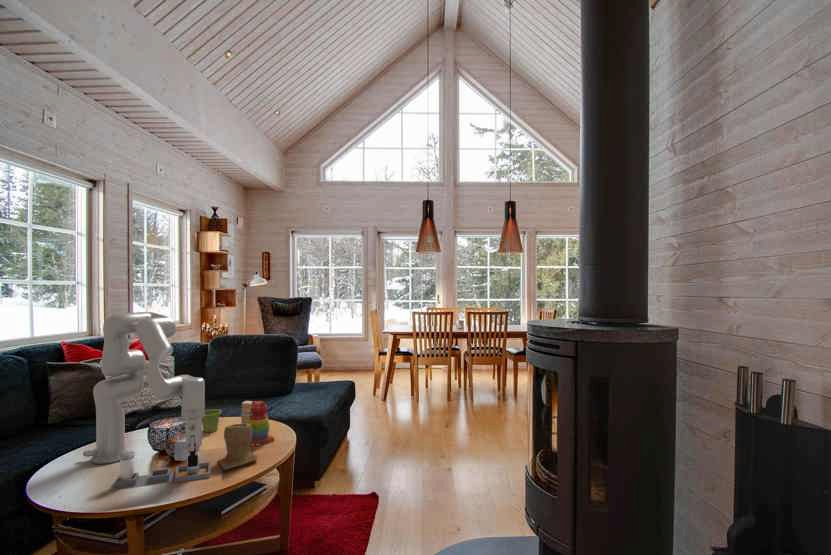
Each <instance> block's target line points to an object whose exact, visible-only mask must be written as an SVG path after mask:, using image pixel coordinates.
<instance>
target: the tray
mask: <svg viewBox="0 0 831 555" xmlns="http://www.w3.org/2000/svg"><path fill="white" fill-rule="evenodd" d="M211 463H212V462H211V461H206V462H199V469H202V468H208V471H207V472H203V473H202V472H201V473H196V474H195V473H194V474H188V475H182V476H179V472H181V471H187V464H183V465H177V466H176V468H175V469H176V470H175V472H174V476H173V482H174V483H179V482H186V481H187V482H189V481H194V480H195V481H196V480H201V479H202V480H203V479H207V478H208V479H209V478H211V468H212V467H211Z"/></svg>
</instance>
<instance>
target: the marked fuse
mask: <svg viewBox="0 0 831 555" xmlns="http://www.w3.org/2000/svg"><path fill="white" fill-rule="evenodd" d="M194 446H196V444H194ZM194 449H195V448H194ZM197 454H198V466H194V467H188V448H187V460H186V465H187V470H186V473H187V474H188V475H193V474H195V473H196V474H198V473H199V472H200V468H199V463H200V447H199V446H197Z"/></svg>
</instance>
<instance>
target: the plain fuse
mask: <svg viewBox="0 0 831 555" xmlns="http://www.w3.org/2000/svg"><path fill="white" fill-rule="evenodd" d="M119 466H120V467H119V471H120V472H119V473H120V474H119V475H120V481H121V480H129V479H134V473H135V452H134V451H128V452H124V453H122V454H120V461H119Z"/></svg>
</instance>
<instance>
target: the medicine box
mask: <svg viewBox="0 0 831 555" xmlns="http://www.w3.org/2000/svg"><path fill="white" fill-rule="evenodd" d="M174 461H180V462H185V461H187V447H186V436H185V437H182V438H180V439H178V440H176V441H175V442H174Z"/></svg>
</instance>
